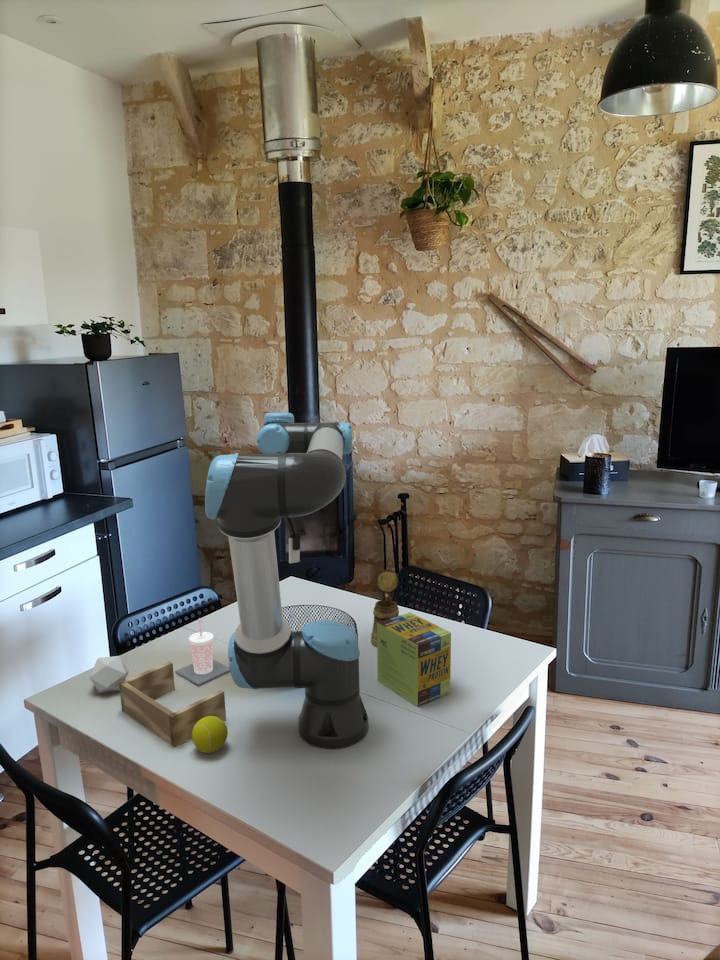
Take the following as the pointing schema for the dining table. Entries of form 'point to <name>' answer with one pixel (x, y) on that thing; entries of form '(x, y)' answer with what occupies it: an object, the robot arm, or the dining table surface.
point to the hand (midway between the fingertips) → (279, 556)
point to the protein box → (414, 658)
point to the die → (108, 674)
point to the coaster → (203, 678)
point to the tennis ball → (209, 734)
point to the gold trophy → (385, 601)
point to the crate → (157, 717)
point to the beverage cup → (202, 651)
